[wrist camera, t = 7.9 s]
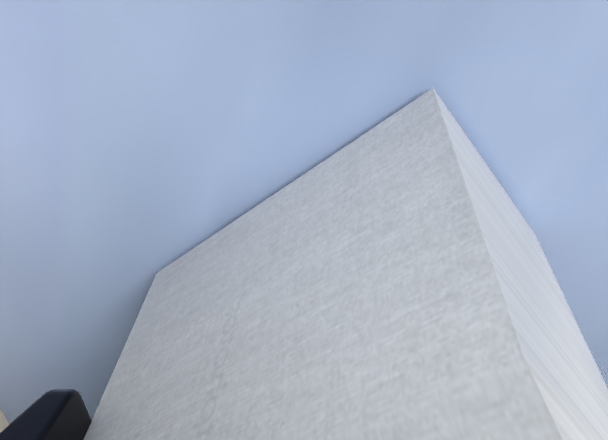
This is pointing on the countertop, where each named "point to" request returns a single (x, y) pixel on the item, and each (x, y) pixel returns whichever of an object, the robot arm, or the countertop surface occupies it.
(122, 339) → the countertop surface
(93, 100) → the countertop surface
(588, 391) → the white printed packet
